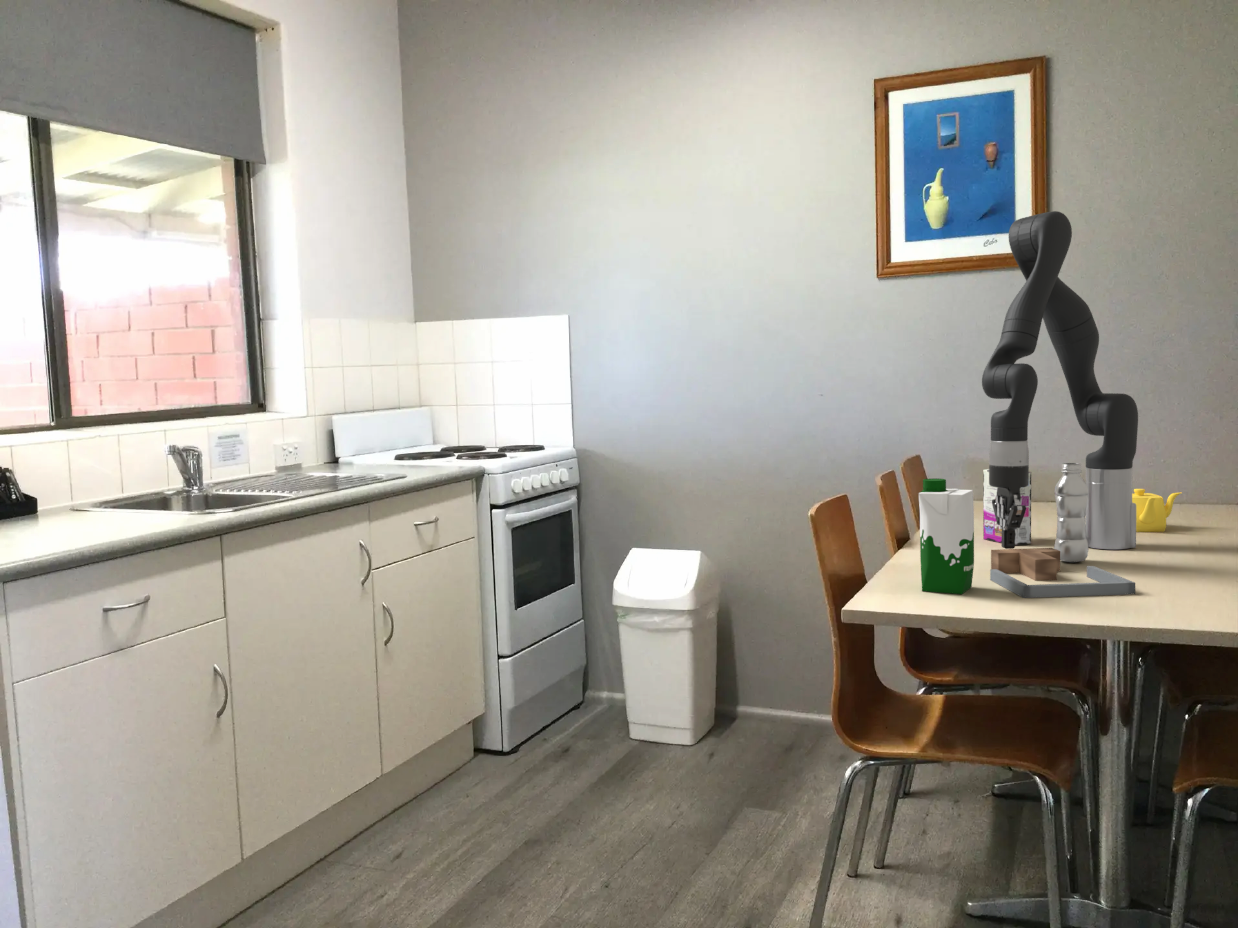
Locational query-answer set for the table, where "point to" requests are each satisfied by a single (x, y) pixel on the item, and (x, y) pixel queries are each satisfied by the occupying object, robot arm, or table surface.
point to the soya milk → (946, 537)
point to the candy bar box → (989, 520)
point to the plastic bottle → (1071, 514)
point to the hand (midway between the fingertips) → (1008, 547)
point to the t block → (1028, 562)
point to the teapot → (1151, 510)
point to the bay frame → (1068, 585)
